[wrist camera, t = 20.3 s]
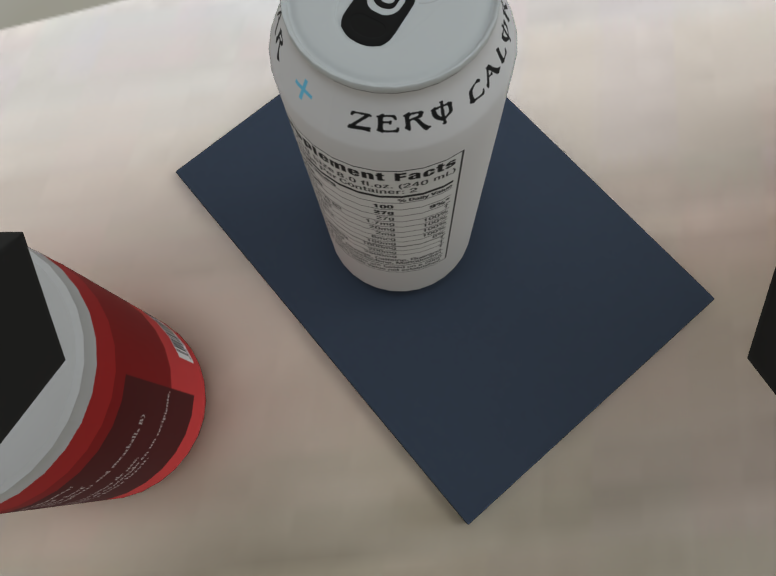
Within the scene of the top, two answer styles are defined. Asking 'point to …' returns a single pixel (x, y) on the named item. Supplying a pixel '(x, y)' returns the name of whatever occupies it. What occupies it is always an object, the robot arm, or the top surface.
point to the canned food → (102, 402)
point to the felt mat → (464, 301)
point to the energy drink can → (395, 123)
